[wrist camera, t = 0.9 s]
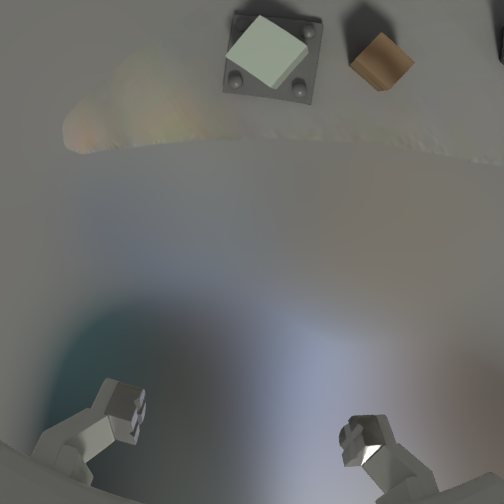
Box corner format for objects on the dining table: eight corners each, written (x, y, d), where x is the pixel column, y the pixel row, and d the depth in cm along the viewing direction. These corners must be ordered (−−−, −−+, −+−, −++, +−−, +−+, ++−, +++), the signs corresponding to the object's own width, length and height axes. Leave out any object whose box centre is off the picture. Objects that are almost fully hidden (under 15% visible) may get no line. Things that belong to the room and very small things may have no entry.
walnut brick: (371, 42, 34) (381, 31, 27) (399, 68, 35) (414, 62, 28) (348, 66, 37) (355, 59, 30) (377, 91, 38) (389, 89, 31)
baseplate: (236, 17, 36) (222, 4, 30) (323, 26, 35) (323, 13, 28) (225, 92, 43) (209, 91, 37) (310, 104, 42) (309, 105, 35)
